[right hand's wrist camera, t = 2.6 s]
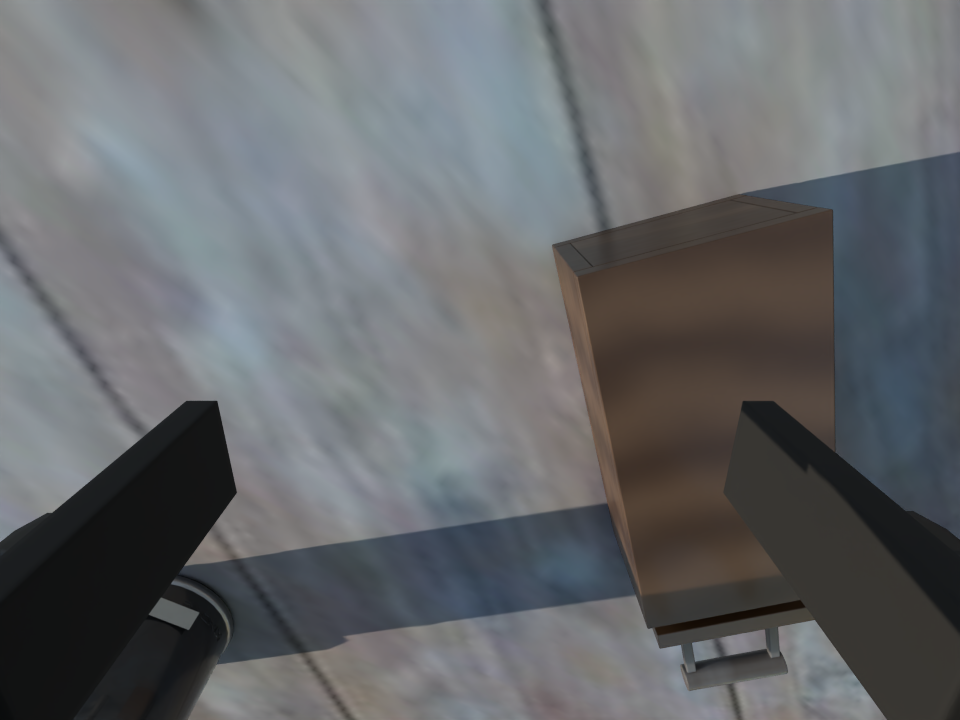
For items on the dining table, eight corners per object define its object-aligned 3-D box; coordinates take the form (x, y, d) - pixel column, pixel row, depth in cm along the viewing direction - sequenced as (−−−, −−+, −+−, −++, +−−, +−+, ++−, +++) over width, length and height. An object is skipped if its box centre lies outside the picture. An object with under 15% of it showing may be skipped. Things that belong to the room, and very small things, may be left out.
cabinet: (762, 501, 36) (837, 593, 29) (613, 532, 37) (647, 629, 30) (739, 193, 28) (833, 209, 21) (551, 244, 29) (576, 276, 22)
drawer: (768, 606, 39) (818, 686, 33) (644, 630, 40) (672, 711, 34) (742, 274, 29) (807, 305, 23) (579, 316, 30) (602, 355, 24)
